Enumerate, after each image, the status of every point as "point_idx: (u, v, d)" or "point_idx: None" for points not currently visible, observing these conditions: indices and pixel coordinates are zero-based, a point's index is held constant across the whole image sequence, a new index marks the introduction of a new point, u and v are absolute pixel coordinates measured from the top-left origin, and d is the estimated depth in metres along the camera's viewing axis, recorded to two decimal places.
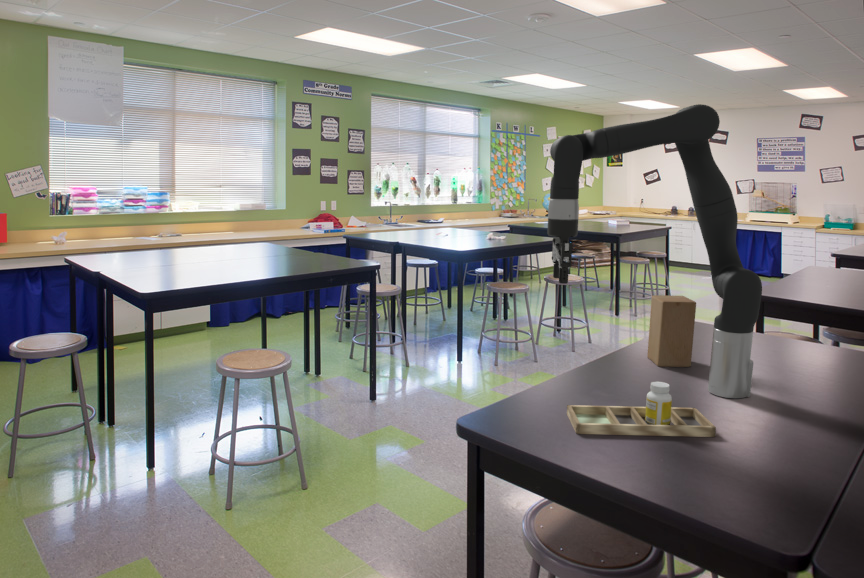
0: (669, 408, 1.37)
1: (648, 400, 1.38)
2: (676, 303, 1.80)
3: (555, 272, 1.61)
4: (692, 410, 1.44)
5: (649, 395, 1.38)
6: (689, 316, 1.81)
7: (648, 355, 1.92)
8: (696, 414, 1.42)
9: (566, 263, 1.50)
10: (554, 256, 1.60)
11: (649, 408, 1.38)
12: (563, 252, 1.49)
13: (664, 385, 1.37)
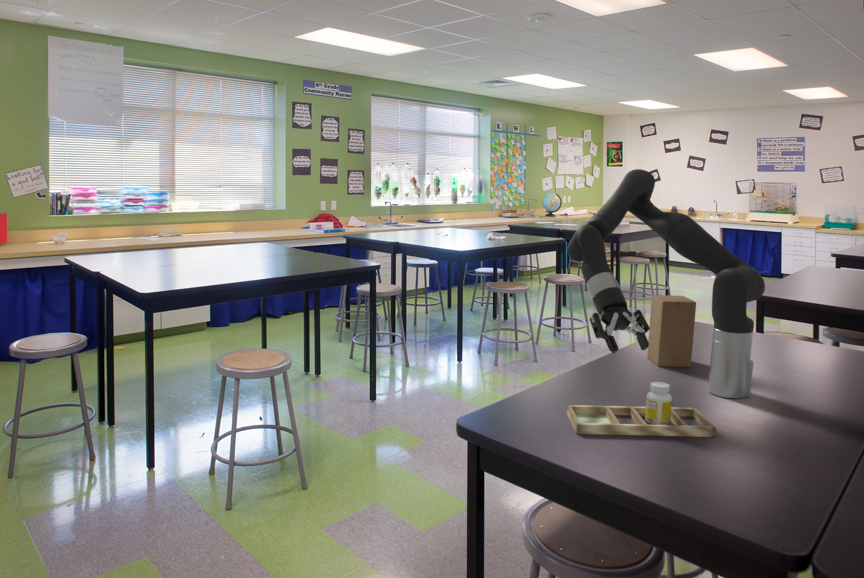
0: (669, 408, 1.37)
1: (648, 400, 1.38)
2: (676, 303, 1.80)
3: None
4: (692, 410, 1.44)
5: (649, 395, 1.38)
6: (689, 316, 1.81)
7: (648, 355, 1.92)
8: (696, 414, 1.42)
9: None
10: None
11: (649, 408, 1.38)
12: None
13: (664, 385, 1.37)
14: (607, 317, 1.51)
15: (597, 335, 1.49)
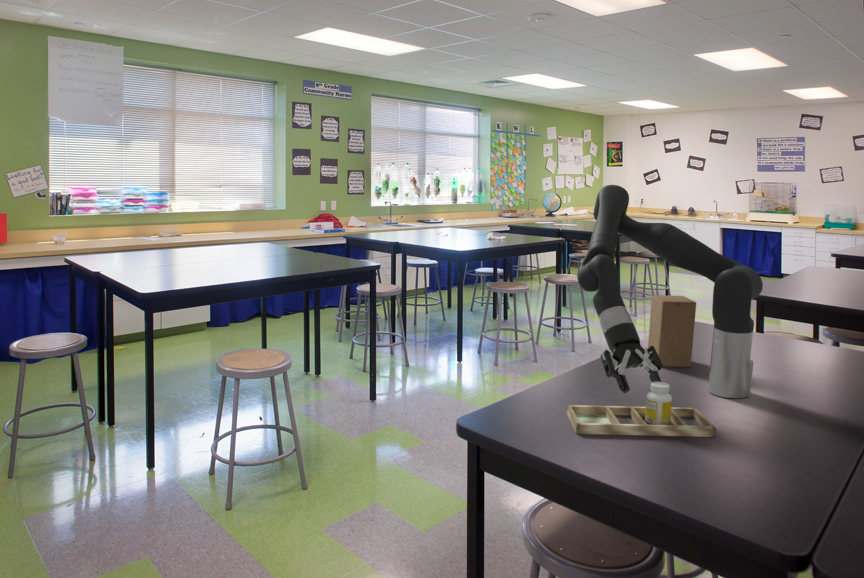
0: (669, 408, 1.37)
1: (648, 400, 1.38)
2: (676, 303, 1.80)
3: None
4: (692, 410, 1.44)
5: (649, 395, 1.38)
6: (689, 316, 1.81)
7: None
8: (696, 414, 1.42)
9: None
10: None
11: (649, 408, 1.38)
12: None
13: (664, 385, 1.37)
14: (619, 355, 1.45)
15: (608, 374, 1.43)
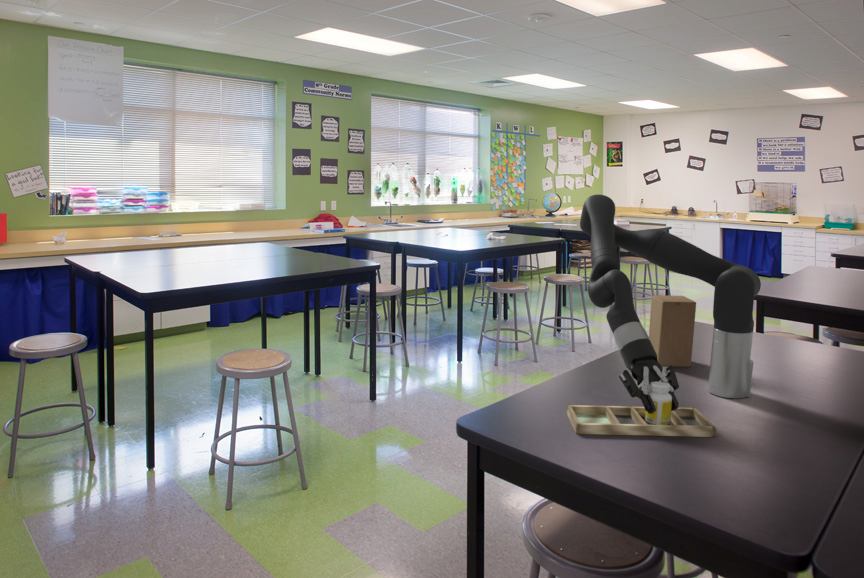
0: (669, 408, 1.37)
1: None
2: (676, 303, 1.80)
3: None
4: (692, 410, 1.44)
5: None
6: (689, 316, 1.81)
7: None
8: (696, 414, 1.42)
9: None
10: None
11: None
12: None
13: (664, 385, 1.37)
14: (637, 372, 1.41)
15: (632, 394, 1.39)
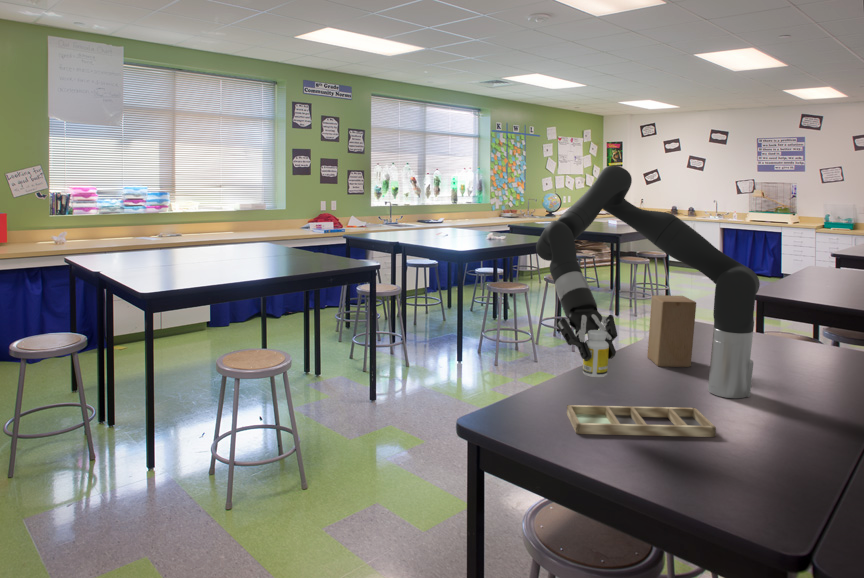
0: (605, 355, 1.36)
1: None
2: (676, 303, 1.80)
3: None
4: (692, 410, 1.44)
5: None
6: (689, 316, 1.81)
7: (648, 355, 1.92)
8: (696, 414, 1.42)
9: None
10: None
11: None
12: None
13: (601, 332, 1.36)
14: (575, 320, 1.40)
15: (569, 342, 1.38)
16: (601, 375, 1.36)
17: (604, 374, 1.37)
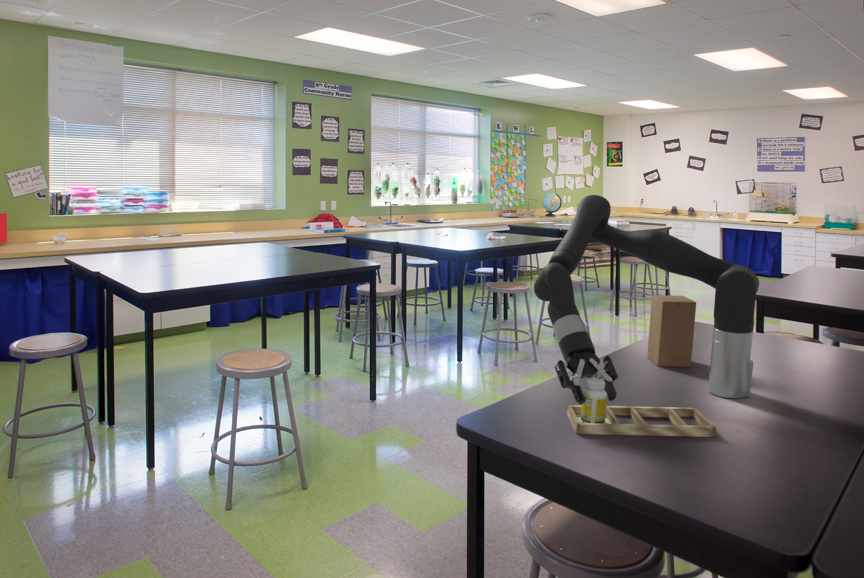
0: (604, 405, 1.37)
1: None
2: (676, 303, 1.80)
3: None
4: (692, 410, 1.44)
5: (585, 392, 1.39)
6: (689, 316, 1.81)
7: (648, 355, 1.92)
8: (696, 414, 1.42)
9: None
10: None
11: (584, 405, 1.39)
12: None
13: (599, 382, 1.38)
14: (573, 364, 1.41)
15: (563, 385, 1.39)
16: None
17: (602, 423, 1.38)
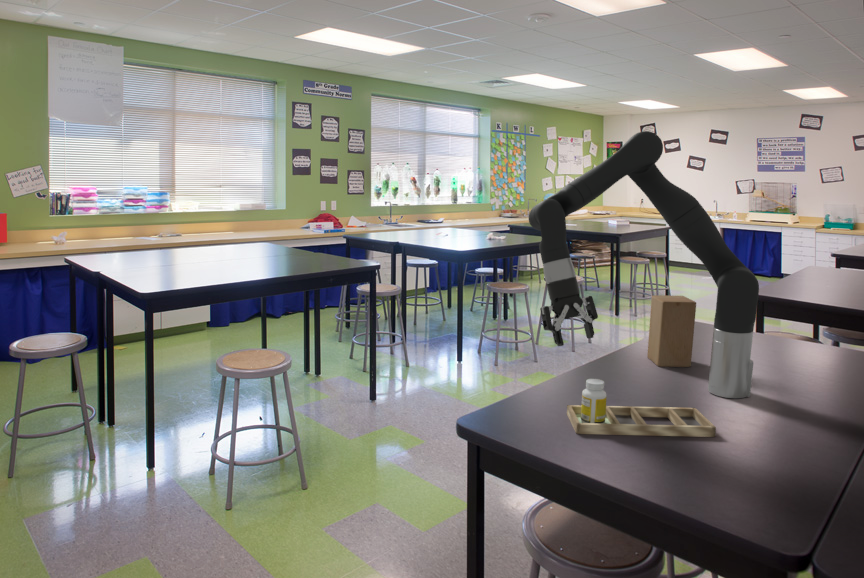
0: (603, 405, 1.37)
1: (583, 397, 1.39)
2: (676, 303, 1.80)
3: None
4: (692, 410, 1.44)
5: (584, 392, 1.39)
6: (689, 316, 1.81)
7: (648, 355, 1.92)
8: (696, 414, 1.42)
9: None
10: None
11: (584, 405, 1.39)
12: None
13: (599, 382, 1.38)
14: (557, 309, 1.52)
15: (545, 328, 1.52)
16: None
17: (602, 423, 1.38)
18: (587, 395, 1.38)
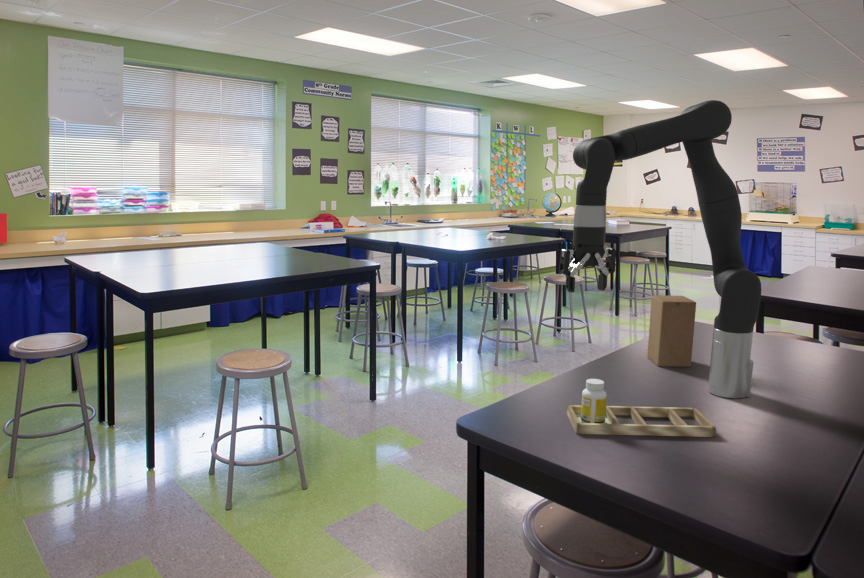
0: (603, 405, 1.37)
1: (583, 397, 1.39)
2: (676, 303, 1.80)
3: None
4: (692, 410, 1.44)
5: (584, 392, 1.39)
6: (689, 316, 1.81)
7: (648, 355, 1.92)
8: (696, 414, 1.42)
9: None
10: None
11: (584, 405, 1.39)
12: None
13: (599, 382, 1.38)
14: (578, 256, 1.46)
15: (560, 271, 1.47)
16: None
17: (602, 423, 1.38)
18: (587, 395, 1.38)
